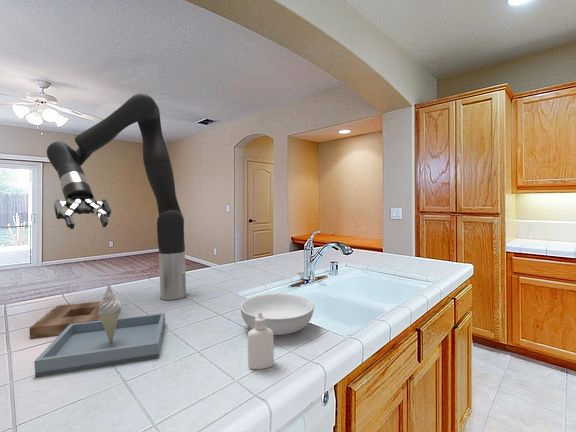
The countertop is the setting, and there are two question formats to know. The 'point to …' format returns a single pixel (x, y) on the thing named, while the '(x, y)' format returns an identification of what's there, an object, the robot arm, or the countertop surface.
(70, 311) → the walnut board
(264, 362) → the eye dropper bottle
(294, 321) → the serving bowl
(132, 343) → the slate blue tray
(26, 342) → the countertop surface
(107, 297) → the ice cream cone
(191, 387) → the countertop surface
